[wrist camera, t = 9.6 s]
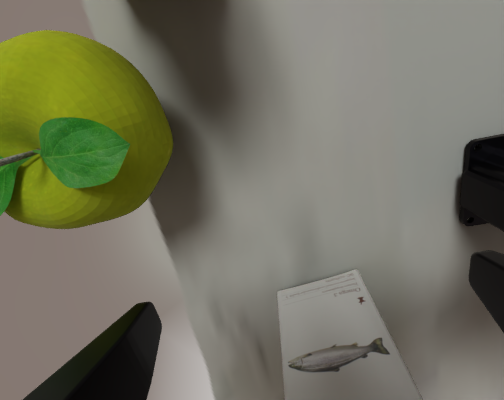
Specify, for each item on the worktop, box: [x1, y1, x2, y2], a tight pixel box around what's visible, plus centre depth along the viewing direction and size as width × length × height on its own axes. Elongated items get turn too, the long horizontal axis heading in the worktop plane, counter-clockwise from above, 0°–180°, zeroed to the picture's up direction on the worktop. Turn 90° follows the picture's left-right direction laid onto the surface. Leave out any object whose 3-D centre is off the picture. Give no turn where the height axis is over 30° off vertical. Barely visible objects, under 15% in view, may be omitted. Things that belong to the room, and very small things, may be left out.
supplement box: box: [277, 269, 423, 400], centre depth 19 cm, size 7×7×13 cm
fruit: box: [0, 30, 173, 229], centre depth 14 cm, size 9×9×10 cm
